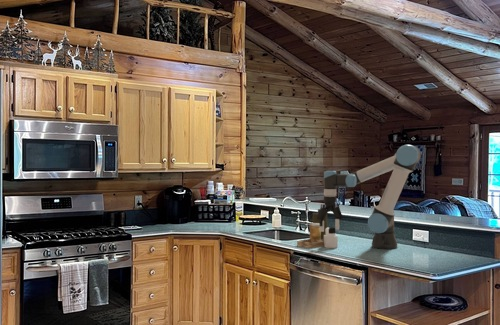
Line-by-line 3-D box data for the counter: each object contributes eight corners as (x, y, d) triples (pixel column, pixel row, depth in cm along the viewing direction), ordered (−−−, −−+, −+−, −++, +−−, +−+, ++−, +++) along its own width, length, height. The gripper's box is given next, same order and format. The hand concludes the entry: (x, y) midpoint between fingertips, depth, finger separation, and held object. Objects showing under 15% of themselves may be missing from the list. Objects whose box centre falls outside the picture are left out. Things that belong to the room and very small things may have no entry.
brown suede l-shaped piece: (334, 244, 307) (334, 224, 307) (310, 248, 294) (310, 227, 295) (316, 241, 320) (316, 222, 320) (293, 245, 307) (293, 225, 307)
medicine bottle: (335, 246, 302) (334, 226, 302) (337, 248, 294) (337, 228, 294) (323, 246, 301) (323, 226, 301) (325, 248, 294) (325, 228, 294)
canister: (327, 239, 327) (327, 210, 327) (312, 239, 329) (311, 209, 330) (328, 237, 338) (328, 208, 338) (313, 237, 340) (313, 208, 340)
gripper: (339, 194, 309) (338, 228, 309) (311, 196, 293) (310, 231, 293) (348, 195, 303) (348, 229, 303) (320, 197, 287) (319, 233, 288)
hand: (329, 230), depth 298 cm, fingers open, 13 cm apart
